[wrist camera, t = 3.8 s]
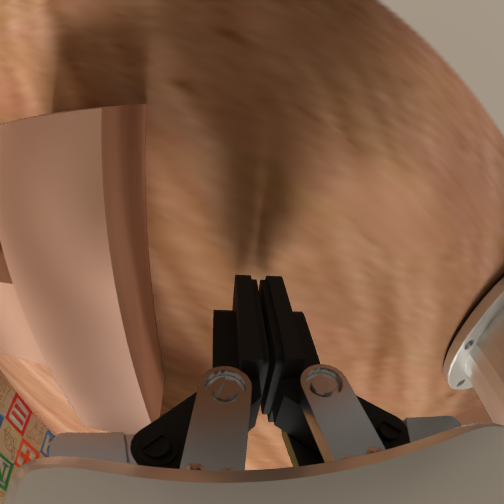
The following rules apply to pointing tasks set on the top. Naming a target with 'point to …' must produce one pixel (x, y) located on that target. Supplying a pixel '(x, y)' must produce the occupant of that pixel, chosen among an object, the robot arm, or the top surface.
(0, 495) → the stack of blocks
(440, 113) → the top surface
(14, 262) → the t block
